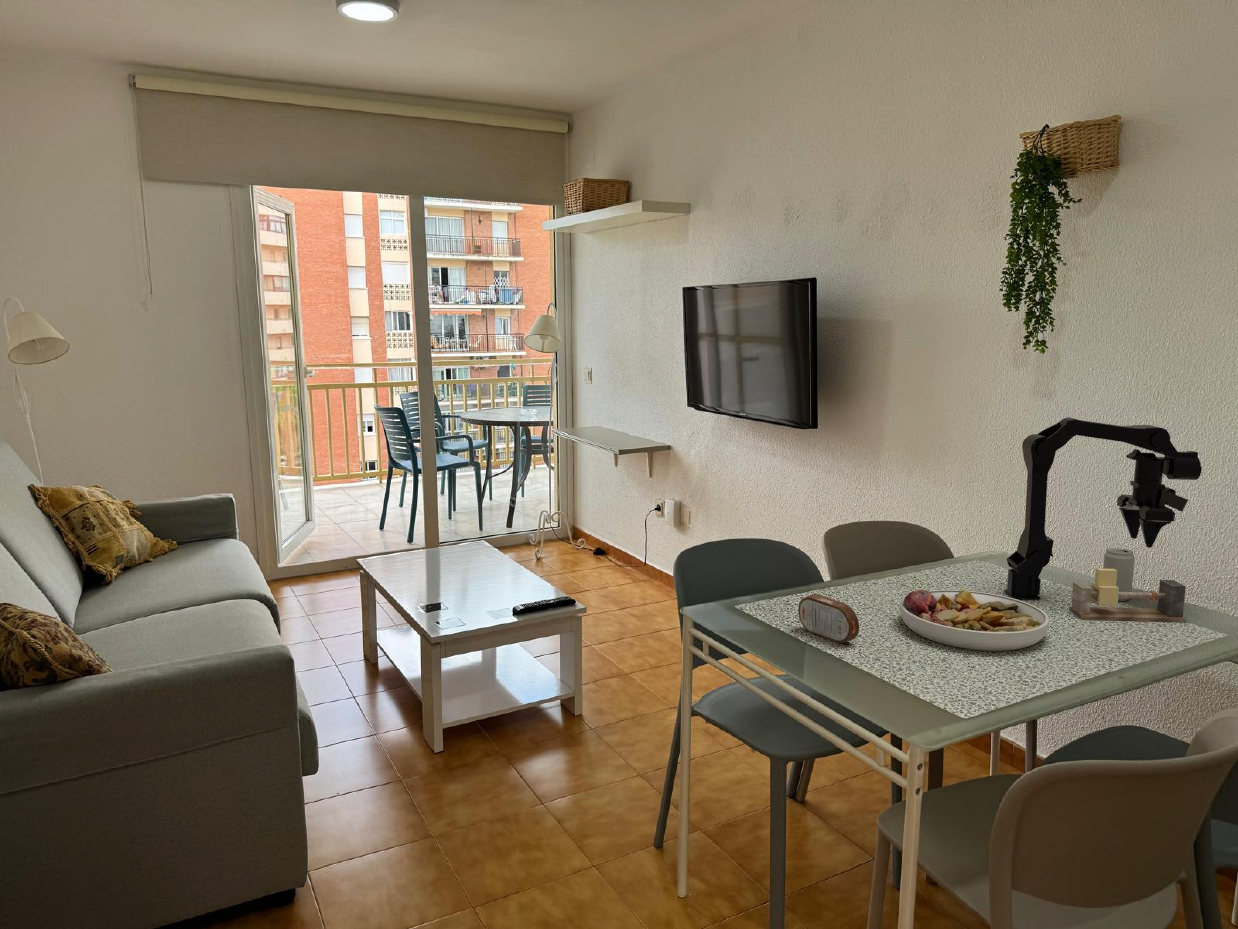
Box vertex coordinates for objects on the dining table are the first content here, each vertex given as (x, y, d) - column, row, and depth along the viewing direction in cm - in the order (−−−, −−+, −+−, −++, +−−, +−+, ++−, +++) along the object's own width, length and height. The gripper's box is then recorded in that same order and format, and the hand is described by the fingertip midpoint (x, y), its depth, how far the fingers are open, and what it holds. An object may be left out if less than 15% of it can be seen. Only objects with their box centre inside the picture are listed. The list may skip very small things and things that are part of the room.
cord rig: (1081, 619, 197) (1084, 585, 196) (1069, 609, 204) (1071, 576, 203) (1184, 622, 195) (1188, 587, 194) (1168, 612, 202) (1171, 578, 200)
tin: (859, 645, 181) (861, 606, 180) (849, 649, 179) (850, 609, 178) (805, 626, 193) (806, 589, 192) (795, 629, 191) (796, 591, 190)
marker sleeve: (1098, 606, 197) (1101, 572, 196) (1090, 600, 202) (1093, 566, 200) (1117, 606, 197) (1120, 572, 196) (1108, 600, 201) (1111, 567, 200)
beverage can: (1136, 602, 209) (1141, 553, 208) (1109, 602, 210) (1113, 553, 208) (1122, 594, 216) (1126, 547, 214) (1095, 594, 216) (1099, 547, 214)
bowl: (1033, 616, 200) (1035, 583, 199) (1061, 663, 172) (1064, 624, 171) (896, 605, 208) (898, 573, 207) (901, 648, 180) (903, 612, 179)
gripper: (1203, 486, 196) (1196, 554, 199) (1168, 473, 214) (1161, 535, 217) (1149, 484, 198) (1142, 551, 201) (1119, 472, 216) (1113, 533, 219)
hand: (1141, 542), depth 209 cm, fingers open, 9 cm apart
